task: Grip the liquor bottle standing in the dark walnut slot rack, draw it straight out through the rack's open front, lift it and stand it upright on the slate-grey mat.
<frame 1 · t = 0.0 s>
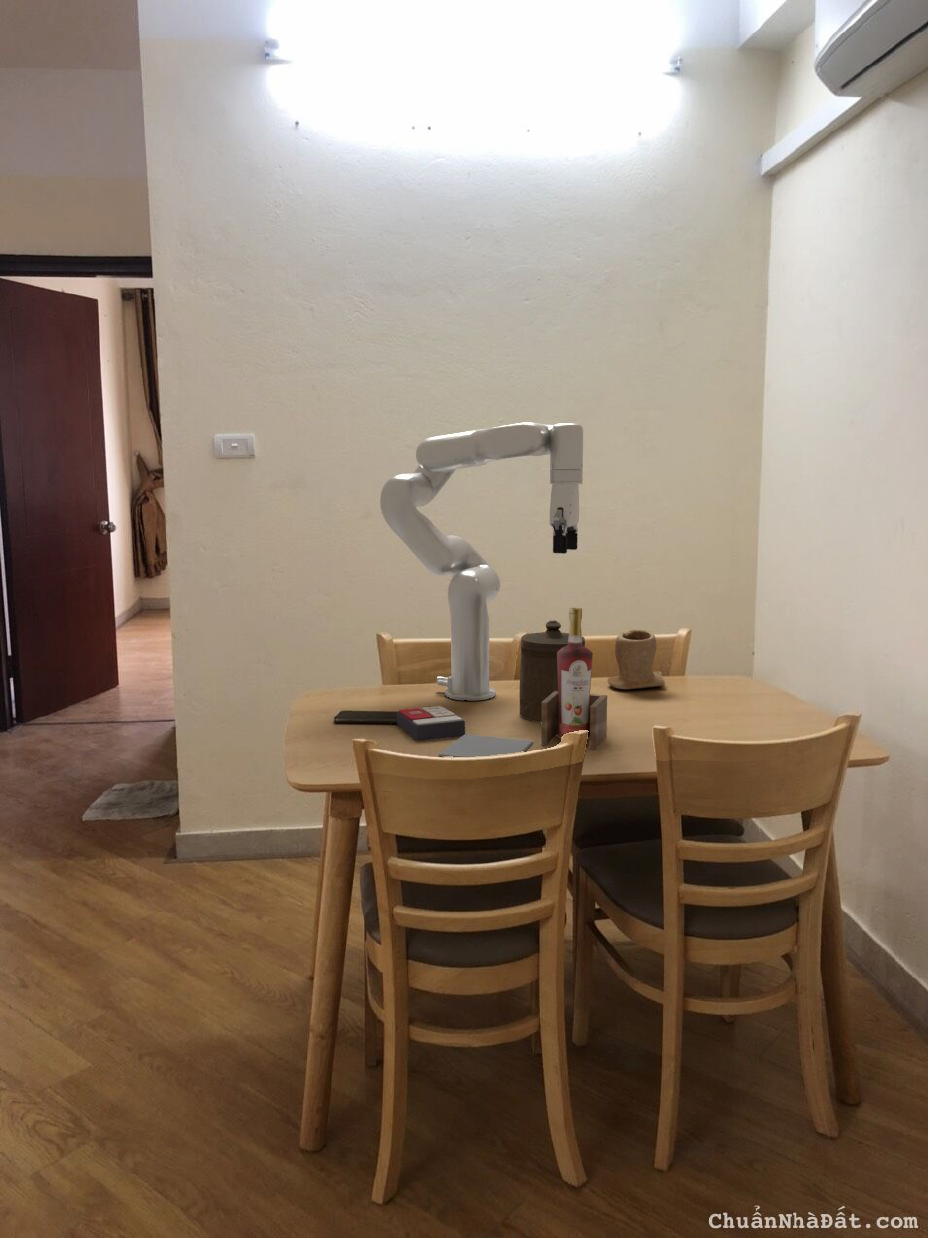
hand: (565, 551, 226), 37 cm above the table, tool pointing down, fingers open, 9 cm apart
stone cup: (638, 688, 248), on the table
wooden container: (551, 715, 222), on the table
calculator: (430, 732, 210), on the table
liquor: (573, 742, 201), on the table
slot rack: (573, 741, 201), on the table
slate mat: (486, 750, 195), on the table
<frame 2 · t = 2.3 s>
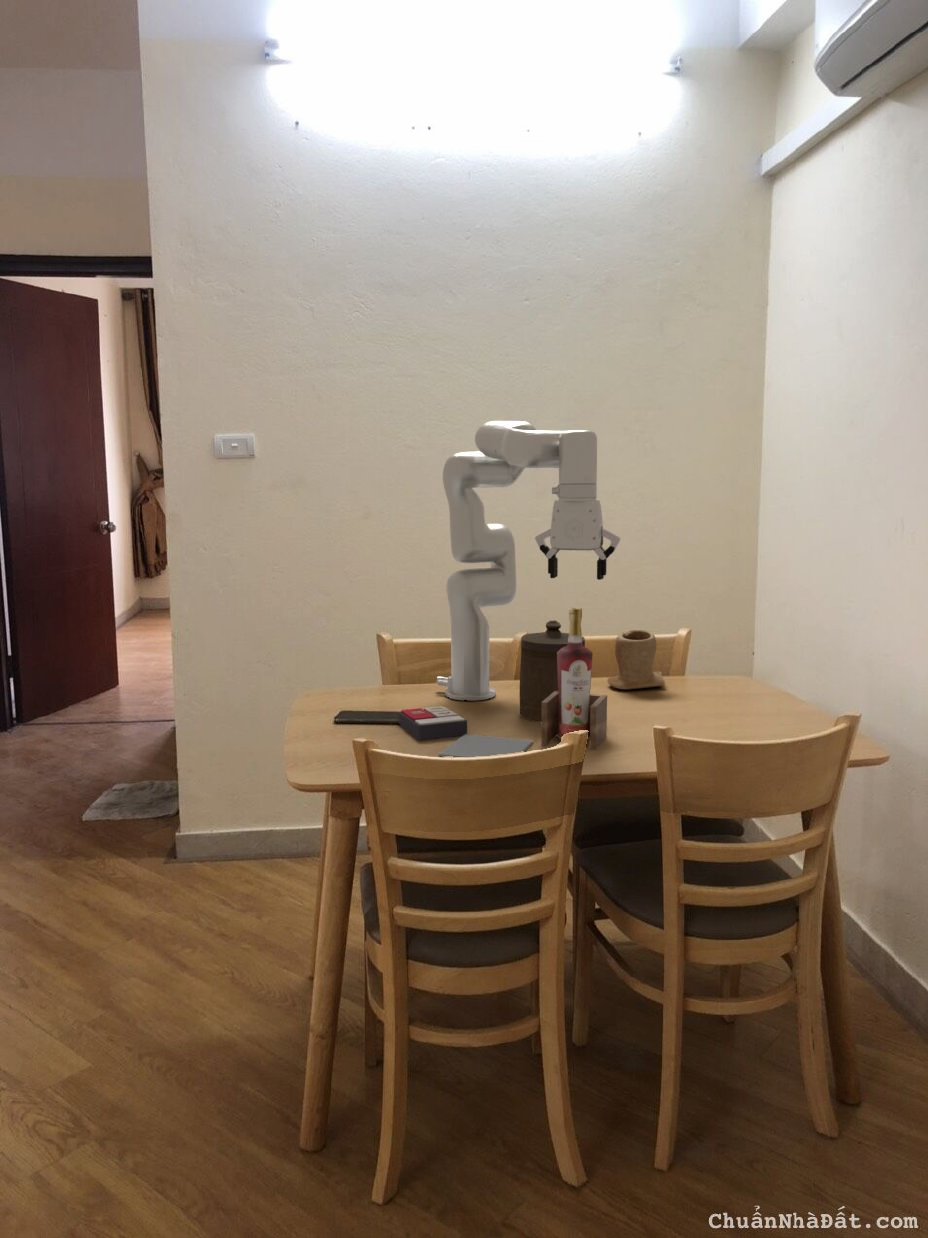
hand: (576, 578, 195), 34 cm above the table, tool pointing down, fingers open, 9 cm apart
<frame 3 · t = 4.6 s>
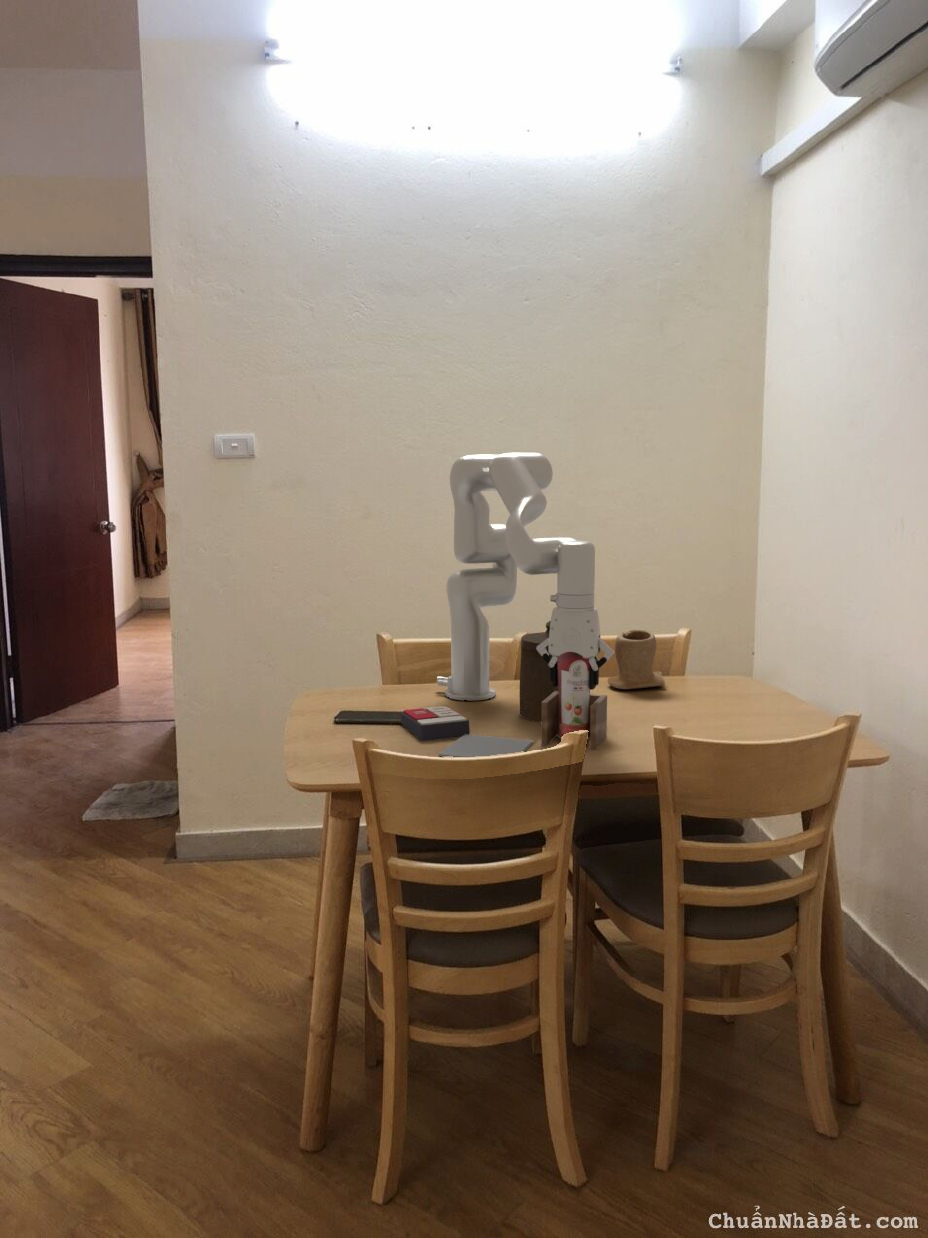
hand: (574, 686, 199), 12 cm above the table, tool pointing down, fingers closed on liquor, 7 cm apart
liquor: (573, 742, 201), on the table, touching gripper
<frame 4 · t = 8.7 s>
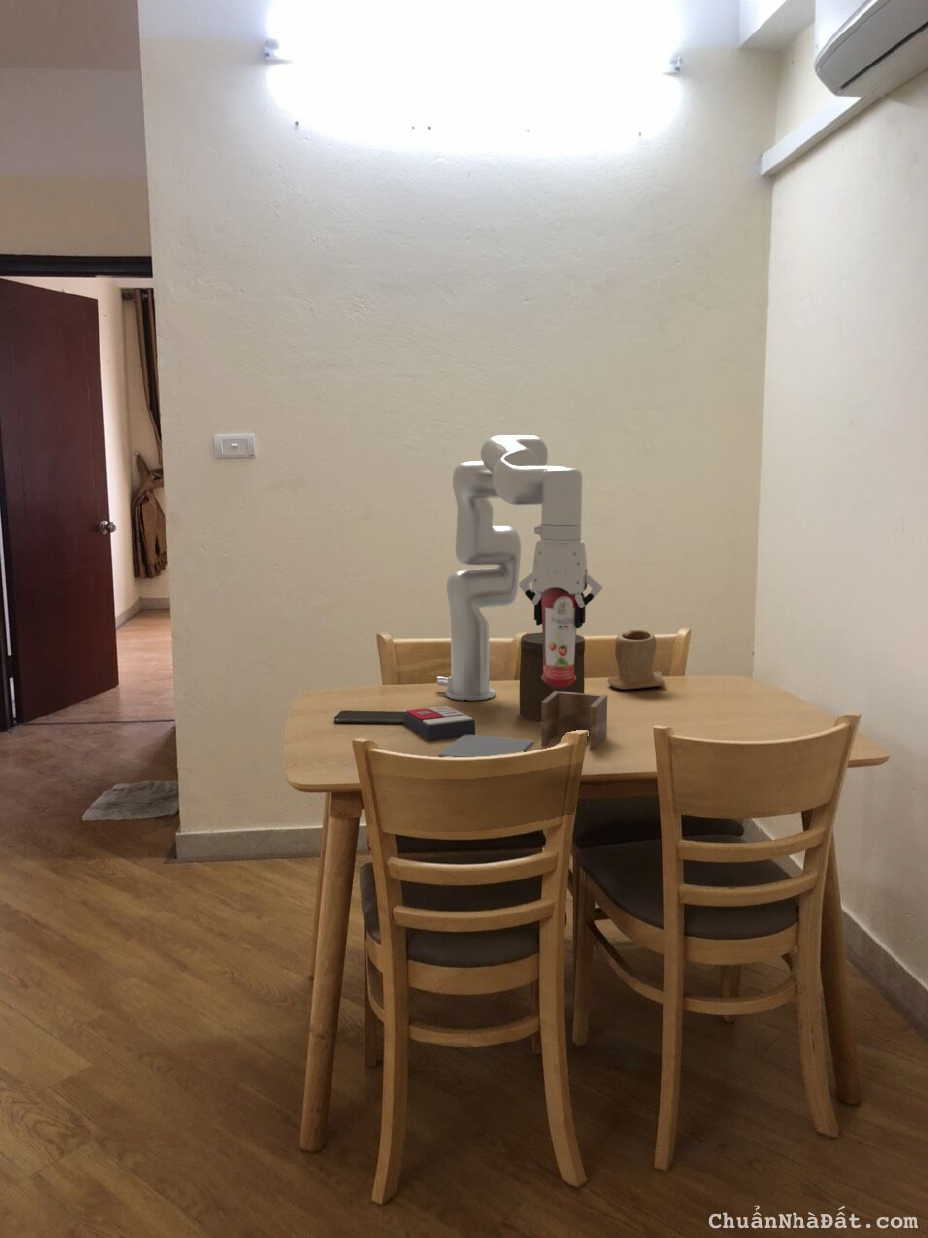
hand: (559, 625, 186), 27 cm above the table, tool pointing down, fingers closed on liquor, 7 cm apart
liquor: (558, 685, 188), point 14 cm above the table, touching gripper
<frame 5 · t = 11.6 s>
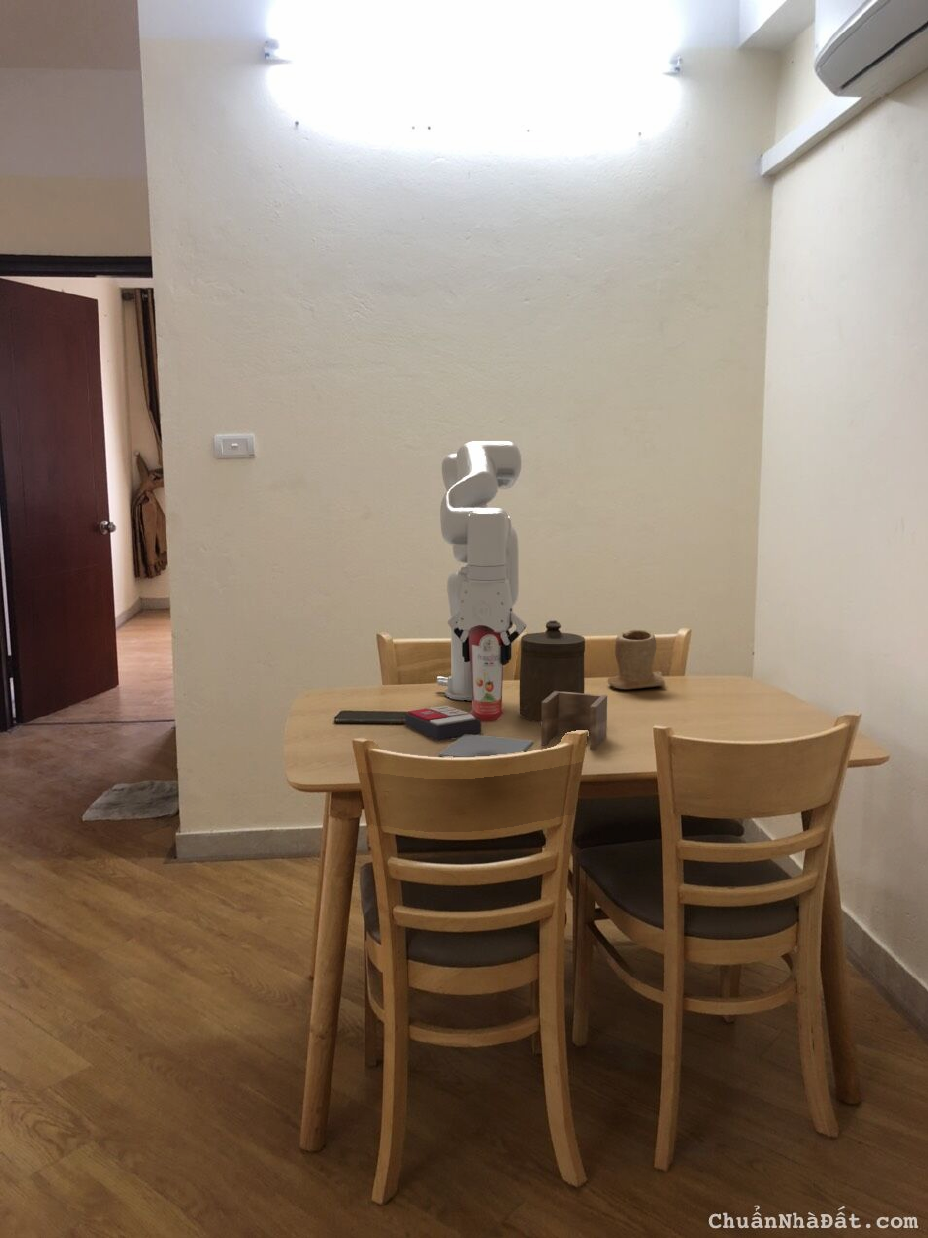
hand: (486, 661, 192), 18 cm above the table, tool pointing down, fingers closed on liquor, 7 cm apart
liquor: (487, 719, 194), point 6 cm above the table, touching gripper
when the fingers open (13 cm above the table, at t = 13.1 s): liquor stays where it is, resting on slate mat.
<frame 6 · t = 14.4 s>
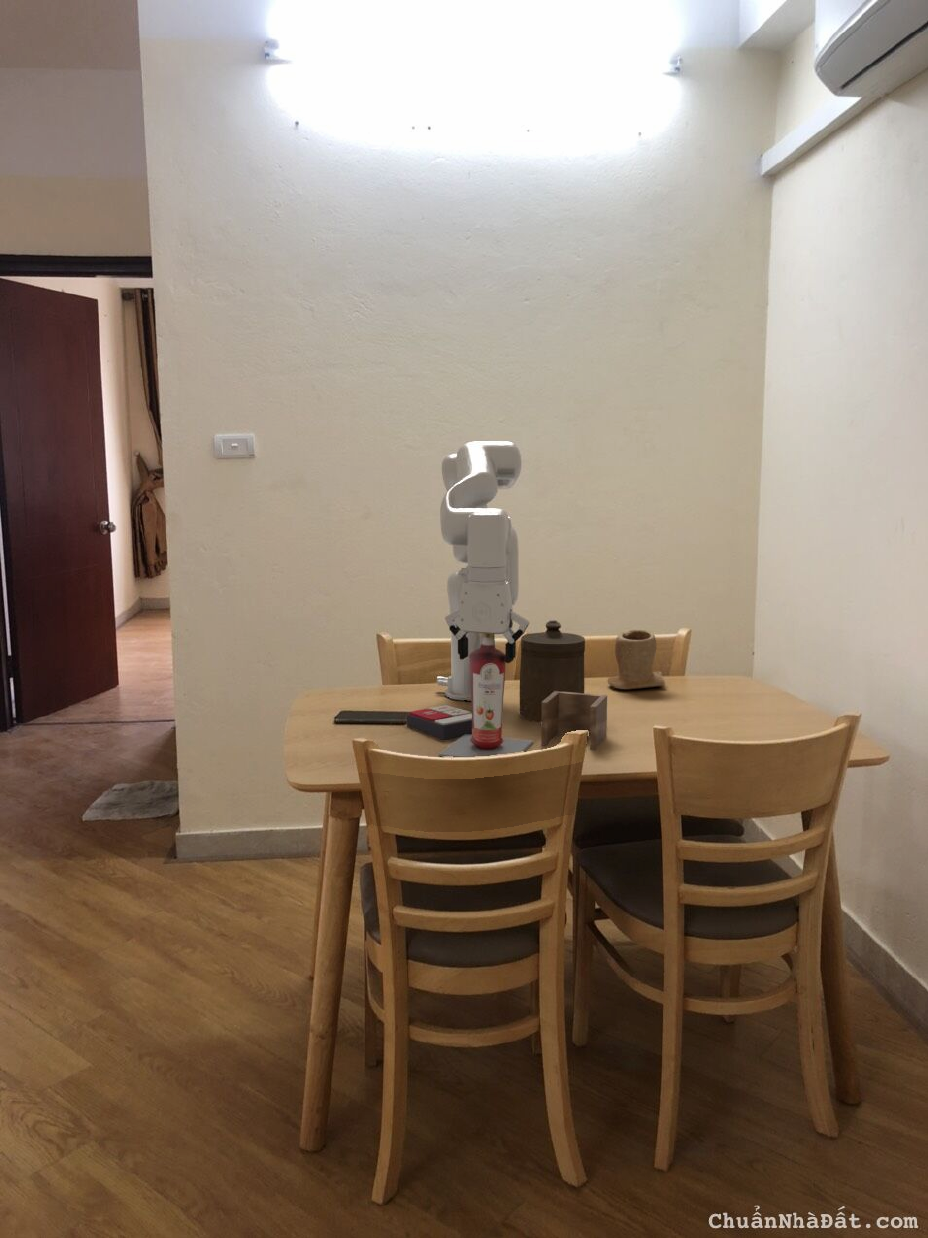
hand: (486, 659, 192), 19 cm above the table, tool pointing down, fingers open, 9 cm apart
liquor: (486, 747, 195), resting on slate mat
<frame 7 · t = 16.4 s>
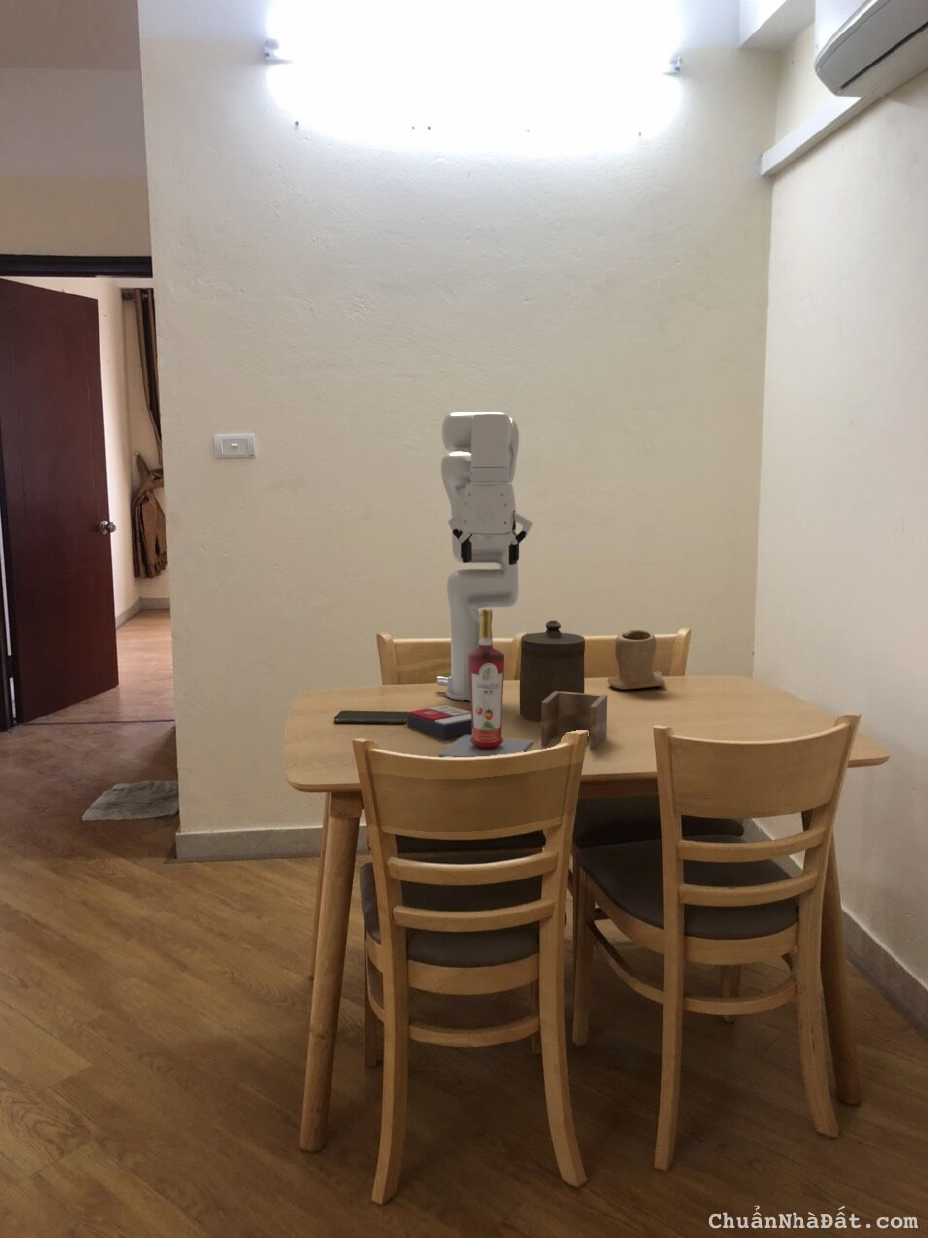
hand: (489, 563, 192), 38 cm above the table, tool pointing down, fingers open, 9 cm apart
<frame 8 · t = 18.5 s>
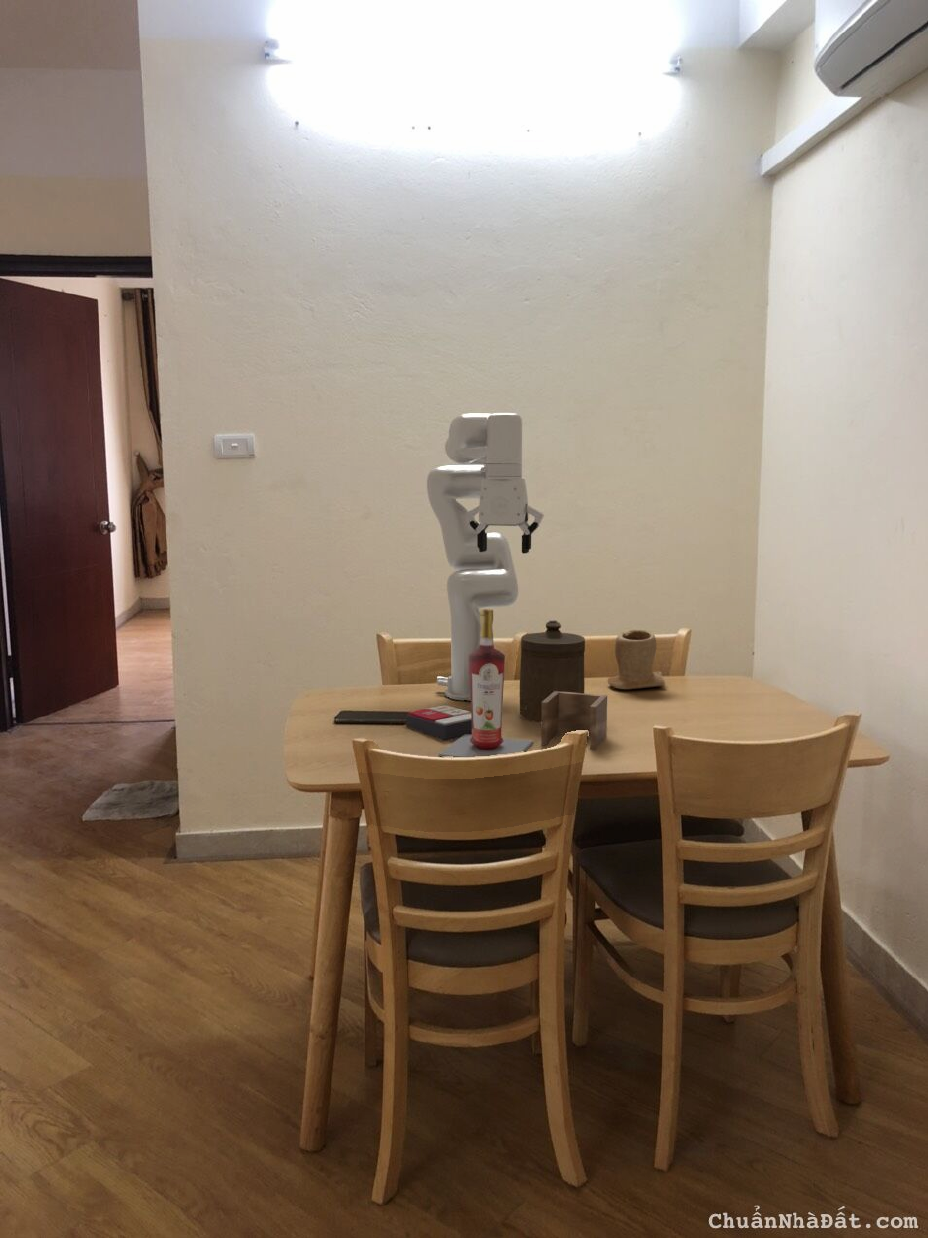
hand: (504, 552, 208), 38 cm above the table, tool pointing down, fingers open, 9 cm apart
at the end: liquor inside the target area on the slate mat (0.4 cm from its centre), point 0.4 cm above the slate mat's base; liquor tilted 0°; the gripper is holding nothing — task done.
